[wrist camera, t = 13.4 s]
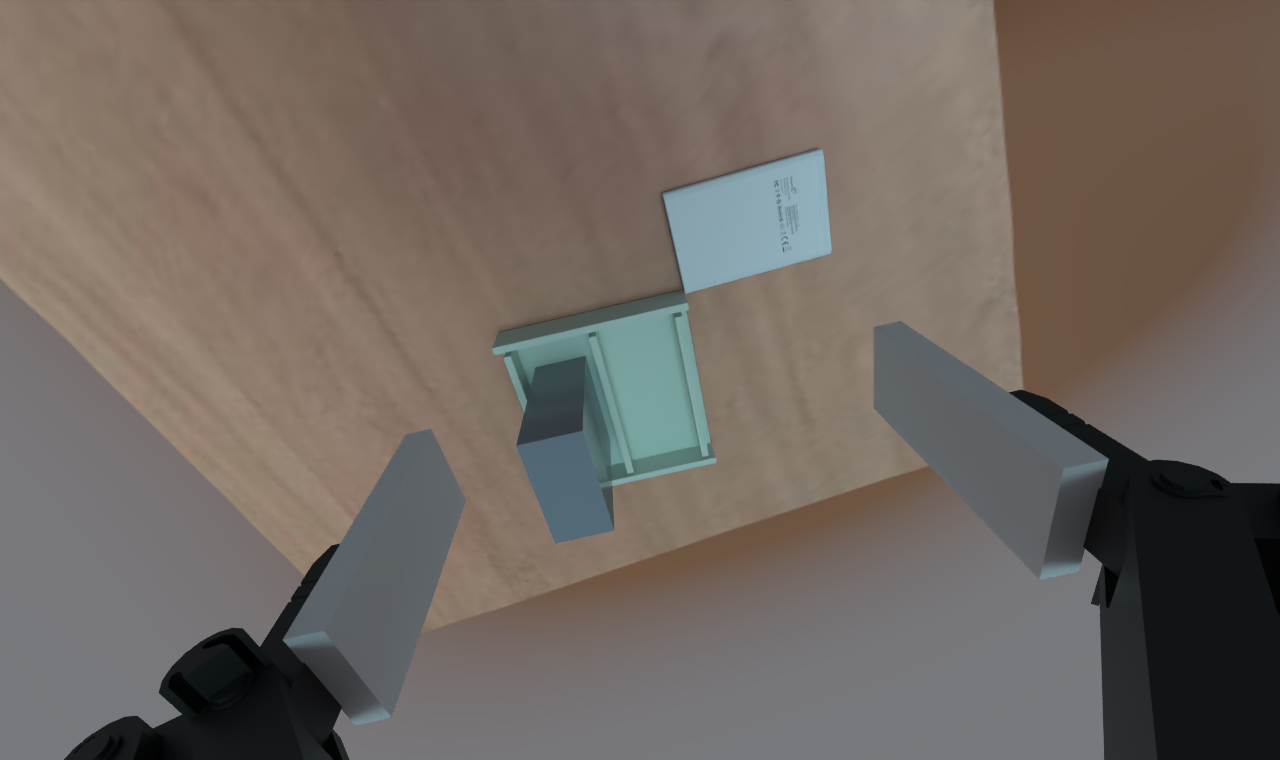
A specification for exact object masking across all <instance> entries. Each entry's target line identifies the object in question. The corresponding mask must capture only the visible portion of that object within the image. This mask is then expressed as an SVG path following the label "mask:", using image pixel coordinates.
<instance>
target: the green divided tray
mask: <svg viewBox="0 0 1280 760" xmlns="http://www.w3.org/2000/svg"><path fill="white" fill-rule="evenodd" d="M686 310H689V307H688V302H687V300H686V298H685V296H684V294H683V292H682V290H679V291H675V292H670V293H666V294H662V295H658V296H653V297H649V298H645V299H640V300H636V301H632V302H628V303H623V304H619V305H615V306H611V307H606V308H602V309H598V310H594V311H589V312H585V313H581V314H576V315H572V316H568V317H564V318H559V319H555V320H551V321H547V322H542V323H538V324H534V325H530V326H525V327H521V328H517V329H512V330H508V331H504V332H500V333H499V334H498V336H497V338H496V340H495V343H494V345H493V347H492V350H493V353H494V355H497V354H501V353H503V354H504V357H503V358H504V361H505V364H506V366H507V369H508V372H509V374H510V377H511V379H512V382H513V385H514V387H515V390H516V393H517V395H518V398H519V401H520V403H521V406H522V408H523V411H524V412H525V408H526V404H527V400H528V396H529V392H530V388H531V383H532V379H533V375H534V371H535V367H539V366H544V365H548V364H552V363H557V362H561V361H565V360H570V359H574V358H578V357H583V356H586V359H587V362H588V366H589V369H590V372H591V376H592V379H593V383H594V386H595V390H596V393H597V396H598V400H599V403H600V407H601V410H602V414H603V417H604V420H605V424H606V427H607V431H608V434H609V438H610V448H611V470H612V486H614V485H619V484H623V483H628V482H632V481H636V480H641V479H645V478H650V477H654V476H659V475H663V474H668V473H672V472H677V471H681V470H686V469H690V468H695V467H699V466H704V465H708V464H712V463H717V462H716V457H715V454H714V451H713V448H712V446H711V443H710V437H709V432H708V427H707V421H706V416H705V410H704V405H703V399H702V394H701V388H700V383H699V378H698V372H697V367H696V361H695V356H694V350H693V345H692V340H691V334H690V329H689V323H688V318H687V312H686Z"/></svg>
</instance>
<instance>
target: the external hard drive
mask: <svg viewBox="0 0 1280 760" xmlns="http://www.w3.org/2000/svg"><path fill="white" fill-rule="evenodd" d="M662 199H663V203H664V207H665V211H666V216H667V220H668V225H669V229H670V233H671V238H672V242H673V246H674V251H675V255H676V260H677V264H678V268H679V273H680V277H681V282H682V286H683V290H684V292H685V294H687V293H690V292H694V291H698V290H701V289H705V288H708V287H712V286H716V285H719V284H723V283H726V282H730V281H734V280H737V279H741V278H744V277H748V276H752V275H755V274H759V273H763V272H766V271H770V270H773V269H777V268H781V267H784V266H788V265H791V264H795V263H799V262H802V261H806V260H809V259H813V258H816V257H820V256H824V255H828V254H831V250H832V248H831V236H830V226H829V213H828V201H827V188H826V176H825V164H824V154H823V150H822V149H814V150H811V151H807V152H804V153H800V154H797V155H794V156H790V157H787V158H783V159H780V160H776V161H773V162H769V163H765V164H762V165H758V166H755V167H751V168H748V169H744V170H741V171H737V172H734V173H730V174H727V175H723V176H720V177H716V178H713V179H709V180H706V181H702V182H699V183H695V184H692V185H688V186H685V187H681V188H678V189H674V190H671V191H667V192H664V193H662Z"/></svg>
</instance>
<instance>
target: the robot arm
mask: <svg viewBox="0 0 1280 760" xmlns="http://www.w3.org/2000/svg"><path fill="white" fill-rule="evenodd" d="M874 409H875V410H876V411H877V412H878V413H879V414H880V415H881V416H882V417H883V418H884V419H885V420H886V421H887V422H888V423H889V424H890V425H891V426H892V427H893V428H894V430H895V431H896V432H897V433H898V434H899V435H900V436H901V437H902V438H903V439H904V440H905V441H906V442H907V443H908V444H909V445H910V446H911V447H912V448H913V449H914V450H915V451H916V452H917V453H918V454H919V455H920V456H921V457H922V459H923V460H924V461H925V462H926V463H927V464H928V465H929V466H930V467H931V468H932V469H933V470H934V471H935V472H936V473H937V474H938V475H939V476H940V477H941V478H942V479H943V480H944V481H945V482H946V483H947V484H948V485H949V487H950V488H952V490H953V491H954V492H955V493H956V494H957V495H958V496H959V497H960V498H961V499H962V500H963V501H964V502H965V503H966V504H967V505H968V506H969V507H970V508H971V509H972V510H973V511H974V512H975V513H976V514H977V516H978V517H979V518H980V519H981V520H982V521H983V522H984V523H985V524H986V525H987V526H988V527H989V528H990V529H991V530H992V531H993V532H994V533H995V534H996V535H997V536H998V537H999V538H1000V539H1001V540H1002V541H1003V542H1004V543H1005V545H1006V546H1007V547H1008V548H1009V549H1010V550H1011V551H1012V552H1013V553H1014V554H1015V555H1016V556H1017V557H1018V558H1019V559H1020V560H1021V561H1022V562H1023V563H1024V564H1025V565H1026V566H1027V567H1028V568H1029V569H1030V570H1031V571H1032V573H1033V574H1034V575H1035V576H1036V577H1037V578H1038V579H1039V580H1040V579H1045V578H1050V577H1054V576H1059V575H1064V574H1069V573H1074V572H1078V571H1079V569H1080V564H1081V561H1082V558H1083V554H1084V550H1085V549H1086V550H1087V551H1089V552H1090V553H1091V554H1092V555H1093V556H1094V557H1095V558H1097V559H1098V560H1099V561H1100V562H1101V563H1102V568H1101V571H1100V575H1099V578H1098V581H1097V585H1096V588H1095V592H1094V595H1093V598H1092V602H1091V604H1094V605H1097V606H1099V604H1100V629H1101V658H1102V659H1101V661H1102V695H1103V725H1104V726H1103V728H1104V758H1105V759H1104V760H1280V484H1272V483H1270V484H1268V483H1266V484H1265V483H1230V482H1229V481H1227V480H1226V479H1224V478H1223V477H1221V476H1220V475H1218V474H1216V473H1214V472H1212V471H1209V470H1207V469H1204V468H1202V467H1199V466H1195V465H1191V464H1187V463H1182V462H1179V461H1168V460H1152V461H1148V460H1147V459H1145V458H1143V457H1142V456H1140V455H1138V454H1137V453H1135V452H1134V451H1132V450H1130V449H1129V448H1127V447H1125V446H1124V445H1122V444H1121V443H1119V442H1117V441H1116V440H1114V439H1112V438H1111V437H1109V436H1107V435H1106V434H1104V433H1102V432H1101V431H1099V430H1098V429H1096V428H1095V427H1093V426H1091V425H1090V424H1087V425H1086V424H1085V422H1084V421H1083V420H1082V419H1080V418H1078V417H1077V416H1075V415H1074V414H1069V413H1068V411H1067V410H1065V409H1064V408H1062V407H1060V406H1059V405H1057V404H1056V403H1054V402H1052V401H1051V400H1049V399H1047V398H1045V397H1041V396H1039V395H1035V394H1033V393H1030V392H1027V391H1024V390H1018V391H1013V392H1009V393H1008V392H1007V391H1005V390H1004V389H1002V388H1001V387H999V386H998V385H996V384H995V383H993V382H992V381H990V380H989V379H987V378H986V377H984V376H983V375H981V374H980V373H978V372H977V371H975V370H974V369H972V368H970V367H969V366H967V365H966V364H964V363H963V362H961V361H960V360H958V359H957V358H955V357H954V356H952V355H951V354H949V353H948V352H946V351H945V350H943V349H942V348H940V347H939V346H937V345H936V344H934V343H933V342H931V341H930V340H928V339H927V338H925V337H924V336H922V335H921V334H919V333H918V332H916V331H915V330H913V329H911V328H910V327H908V326H907V325H905V324H904V323H902V322H901V321H899V322H894V323H890V324H886V325H881V326H877V327H874ZM465 501H466V499H465V497H464V495H463V493H462V491H461V489H460V487H459V485H458V483H457V481H456V479H455V477H454V475H453V473H452V471H451V468H450V466H449V464H448V462H447V460H446V458H445V456H444V454H443V452H442V450H441V448H440V446H439V444H438V442H437V440H436V438H435V436H434V434H433V432H432V430H431V429H428V430H424V431H420V432H415V433H411V434H407V435H405V437H404V439H403V440H402V442H401V444H400V445H399V447H398V449H397V450H396V452H395V454H394V455H393V457H392V459H391V460H390V462H389V464H388V465H387V467H386V469H385V470H384V472H383V474H382V475H381V477H380V479H379V480H378V482H377V484H376V485H375V487H374V489H373V490H372V492H371V494H370V495H369V497H368V499H367V500H366V502H365V504H364V505H363V507H362V509H361V510H360V512H359V514H358V515H357V517H356V519H355V520H354V522H353V524H352V525H351V527H350V529H349V530H348V532H347V534H346V535H345V537H344V539H343V540H342V542H341V543H340V544H336V545H332V546H331V547H330V548H329V549H328V550H327V551H326V552H325V553H323V554H322V555H321V556H320V557H319V558H318V559H317V560H316V561H315V562H314V563H313V565H312V566H311V568H310V569H309V571H308V572H307V574H306V576H305V577H304V579H303V580H302V582H301V586H300V587H298V588H297V590H296V591H295V593H294V594H293V596H292V598H291V602H289V603H288V604H287V605H286V607H285V609H284V610H283V612H282V613H281V615H280V616H279V618H278V620H277V621H276V623H275V624H274V626H273V627H272V629H271V631H270V632H269V634H268V635H267V637H266V638H265V640H264V642H263V643H262V645H261V646H260V647H259V646H258V645H257V644H256V643H255V642H254V641H253V639H252V638H251V637H250V636H249V635H248V634H247V633H246V632H245V631H244V630H243V629H242V628H230V629H227V630H224V631H221V632H218V633H216V634H214V635H212V636H210V637H208V638H206V639H204V640H203V641H201V642H200V643H198V644H197V645H196V646H194V647H193V648H192V649H191V650H189V651H188V652H186V653H185V654H184V655H183V656H182V657H181V658H180V659H179V660H178V661H177V662H176V663H175V664H174V665H173V666H172V667H171V669H170V670H169V671H168V673H167V674H166V676H165V677H164V679H163V680H162V683H161V687H160V690H159V693H160V694H161V695H162V696H163V697H164V698H165V699H166V700H167V701H168V702H169V703H171V704H172V705H173V706H174V707H175V708H176V709H177V710H178V711H179V712H181V713H182V715H180V716H178V717H176V718H174V719H172V720H170V721H168V722H166V723H164V724H162V725H159V726H158V727H155V728H151V727H150V726H149V725H148V724H147V723H145V722H144V721H143V720H142V719H140V718H139V717H138V716H129V717H124V718H121V719H119V720H116V721H114V722H112V723H109V724H108V725H106V726H105V727H103V728H101V729H100V730H98V731H97V732H95V733H93V734H91V735H90V736H89V737H88V738H86V739H85V740H84V741H83V742H82V743H80V744H79V745H78V746H77V747H75V749H73V750H72V751H71V753H70V754H69V755H68V756H67V757H66V758H65V759H64V760H349V758H348V755H347V753H346V750H345V748H344V745H343V743H342V740H341V738H340V737H339V736H338V735H337V733H336V732H335V731H334V730H333V727H334V724H335V722H336V720H337V718H338V715H339V713H340V710H341V709H342V710H343V711H344V713H345V714H346V715H347V716H348V717H349V719H350V720H351V721H352V722H353V723H354V724H355V725H359V724H364V723H369V722H373V721H378V720H383V719H387V718H391V717H392V715H393V712H394V709H395V706H396V703H397V700H398V697H399V694H400V692H401V689H402V686H403V683H404V679H405V677H406V674H407V671H408V668H409V665H410V662H411V659H412V656H413V653H414V651H415V648H416V644H417V642H418V639H419V636H420V633H421V630H422V627H423V624H424V621H425V618H426V615H427V612H428V609H429V607H430V604H431V601H432V598H433V595H434V592H435V589H436V586H437V583H438V580H439V577H440V574H441V571H442V568H443V565H444V563H445V560H446V557H447V554H448V551H449V548H450V545H451V542H452V539H453V536H454V533H455V530H456V527H457V524H458V521H459V519H460V516H461V513H462V510H463V507H464V504H465Z"/></svg>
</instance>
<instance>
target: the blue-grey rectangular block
mask: <svg viewBox="0 0 1280 760" xmlns="http://www.w3.org/2000/svg"><path fill="white" fill-rule="evenodd" d="M516 446H517V449H518V451H519V454H520V456H521V459H522V461H523V464H524V466H525V469H526V471H527V474H528V476H529V479H530V481H531V484H532V486H533V489H534V491H535V494H536V496H537V499H538V501H539V504H540V506H541V509H542V511H543V514H544V516H545V519H546V521H547V524H548V526H549V529H550V531H551V534H552V536H553V539H554V541H555V543H559V542H563V541H568V540H572V539H577V538H581V537H586V536H591V535H595V534H600V533H604V532H609V531H613V530H614V513H613V492H612V470H611V448H610V438H609V434H608V431H607V427H606V424H605V420H604V417H603V414H602V410H601V407H600V403H599V400H598V396H597V393H596V390H595V386H594V383H593V379H592V376H591V372H590V369H589V366H588V362H587V359H586V356H583V357H578V358H574V359H570V360H565V361H561V362H557V363H552V364H548V365H544V366H539V367H535V371H534V375H533V379H532V383H531V388H530V392H529V396H528V400H527V404H526V408H525V412H524V416H523V421H522V425H521V429H520V433H519V437H518V441H517V445H516Z"/></svg>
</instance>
